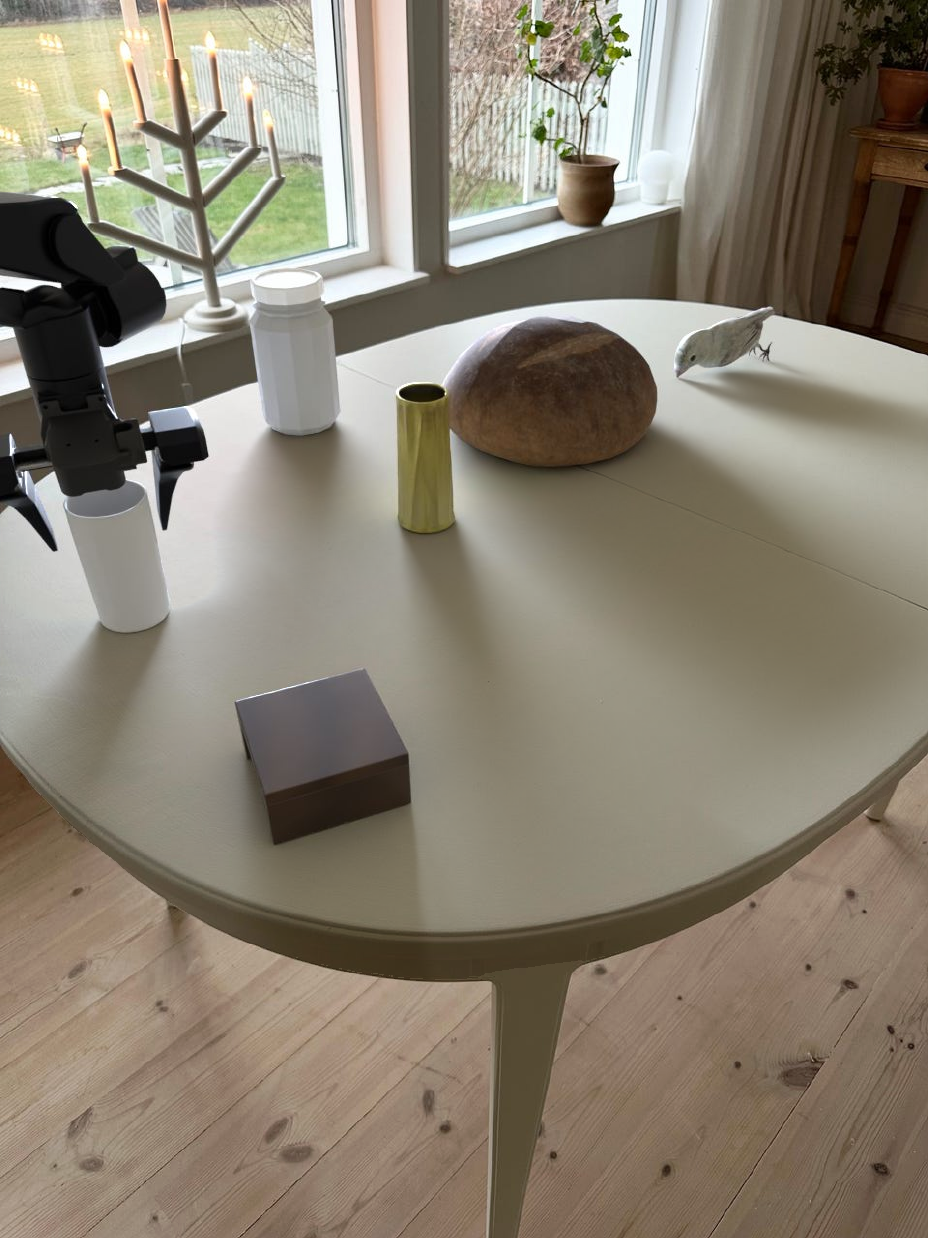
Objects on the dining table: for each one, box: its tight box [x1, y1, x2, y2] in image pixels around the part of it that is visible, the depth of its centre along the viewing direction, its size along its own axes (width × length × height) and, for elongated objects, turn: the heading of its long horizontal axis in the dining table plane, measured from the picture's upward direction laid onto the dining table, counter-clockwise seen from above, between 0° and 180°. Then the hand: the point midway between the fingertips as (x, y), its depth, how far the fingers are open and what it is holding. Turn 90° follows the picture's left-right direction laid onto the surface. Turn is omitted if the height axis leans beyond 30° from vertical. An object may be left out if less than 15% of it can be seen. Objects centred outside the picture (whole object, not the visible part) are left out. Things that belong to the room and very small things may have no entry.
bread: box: [441, 316, 658, 468], centre depth 113 cm, size 26×27×13 cm
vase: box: [395, 381, 456, 534], centre depth 94 cm, size 6×6×14 cm
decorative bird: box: [673, 306, 776, 378], centre depth 130 cm, size 5×16×7 cm, turn 118°
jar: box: [249, 267, 341, 437], centre depth 112 cm, size 10×10×18 cm
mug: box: [62, 479, 171, 634], centre depth 82 cm, size 10×7×12 cm, turn 38°
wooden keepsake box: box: [234, 667, 412, 846], centre depth 67 cm, size 10×10×5 cm
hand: (110, 538), depth 81 cm, fingers open, 9 cm apart
